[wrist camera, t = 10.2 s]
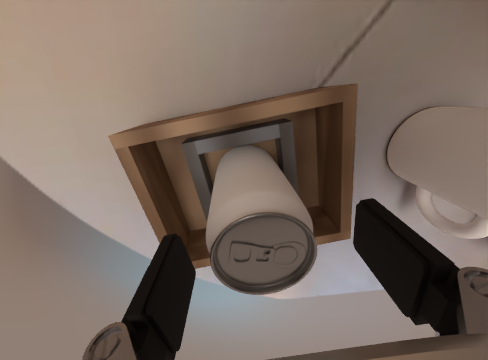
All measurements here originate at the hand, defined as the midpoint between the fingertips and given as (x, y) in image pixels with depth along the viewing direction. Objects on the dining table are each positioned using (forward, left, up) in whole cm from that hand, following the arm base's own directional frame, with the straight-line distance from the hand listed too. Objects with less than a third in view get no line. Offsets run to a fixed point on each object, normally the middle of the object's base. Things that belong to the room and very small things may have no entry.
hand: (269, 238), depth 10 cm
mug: (-19, +4, -13) cm, 23 cm away
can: (+1, +1, -12) cm, 12 cm away
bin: (+1, +1, -12) cm, 12 cm away
